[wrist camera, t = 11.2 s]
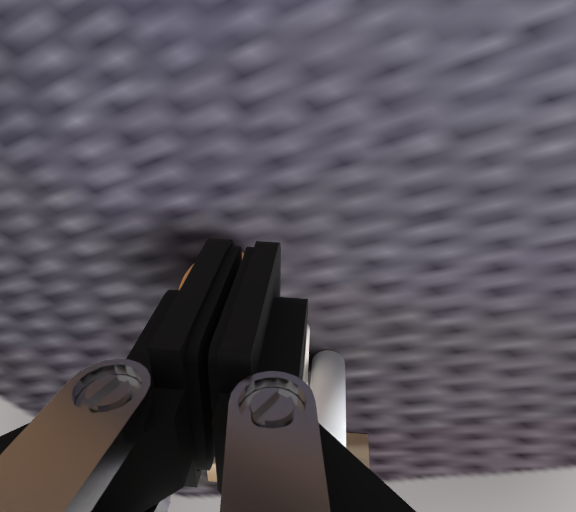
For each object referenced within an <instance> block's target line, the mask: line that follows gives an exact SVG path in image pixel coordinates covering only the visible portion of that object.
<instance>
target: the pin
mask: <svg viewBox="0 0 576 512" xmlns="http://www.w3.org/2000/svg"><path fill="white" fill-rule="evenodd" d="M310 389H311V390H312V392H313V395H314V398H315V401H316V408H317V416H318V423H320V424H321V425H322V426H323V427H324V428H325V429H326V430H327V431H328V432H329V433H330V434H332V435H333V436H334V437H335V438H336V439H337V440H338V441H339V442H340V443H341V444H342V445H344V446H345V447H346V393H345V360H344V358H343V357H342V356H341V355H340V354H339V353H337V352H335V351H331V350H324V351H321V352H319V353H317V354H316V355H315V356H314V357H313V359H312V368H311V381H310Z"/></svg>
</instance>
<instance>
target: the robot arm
mask: <svg viewBox="0 0 576 512" xmlns="http://www.w3.org/2000/svg"><path fill="white" fill-rule="evenodd" d="M280 263H281V247H280V243H276V242H259V241H256V243H255V246H254V247H247V248H246V251H245V253H244V256H243V259H242V249H241V246H234V244H233V241H232V240H225V239H208V240H207V241H206V243H205V245H204V247H203V249H202V250H201V252H200V254H199V256H198V258H197V259H196V261H195V263H194V265H193V267H192V269H191V270H190V272H189V274H188V276H187V278H186V279H185V281H184V283H183V285H182V287H181V288H180V290H168V291H167V292H166V293H165V295H164V296H163V298H162V300H161V301H160V303H159V305H158V306H157V308H156V310H155V311H154V313H153V315H152V316H151V318H150V320H149V322H148V323H147V325H146V327H145V328H144V330H143V332H142V333H141V335H140V337H139V338H138V340H137V342H136V343H135V345H134V347H133V348H132V350H131V352H130V353H129V355H128V357H127V359H111V360H105V361H101V362H98V363H95V364H92V365H90V366H88V367H87V368H85V369H83V370H81V371H80V372H78V373H77V374H76V375H75V376H74V377H73V378H71V379H70V380H69V381H68V382H67V384H66V385H65V386H64V387H63V388H62V389H61V390H60V391H59V392H58V393H57V394H56V395H55V396H54V398H53V399H52V400H51V401H50V402H49V403H48V404H47V405H46V406H45V407H44V408H43V409H42V410H41V412H40V413H39V414H38V415H37V416H36V417H35V418H34V419H33V420H32V421H31V422H30V423H28V424H26V425H24V426H22V427H20V428H18V429H16V430H13V431H11V432H9V433H7V434H4V435H2V436H0V512H167V511H168V508H169V505H170V495H171V494H173V493H175V492H176V491H178V490H179V489H181V488H182V487H184V486H189V487H197V485H198V482H199V478H200V475H201V471H202V470H208V471H209V470H210V469H211V467H212V464H213V461H214V457H215V463H216V474H217V486H218V491H219V492H220V493H221V505H220V512H416V511H415V510H414V509H412V508H411V507H410V506H409V505H408V504H407V503H406V502H405V501H404V500H403V499H402V498H400V497H399V496H398V495H397V494H396V493H395V492H394V491H393V490H392V489H391V488H390V487H388V486H387V485H386V484H385V483H384V482H383V481H382V480H381V479H380V478H379V477H377V476H376V475H375V474H374V473H373V472H372V471H371V470H370V469H369V468H368V467H367V466H365V465H364V464H363V463H362V462H361V461H360V460H359V459H358V458H357V457H356V456H355V455H353V454H352V453H351V452H350V451H349V450H348V449H347V448H346V447H345V446H344V445H342V444H341V443H340V442H339V441H338V440H337V439H336V438H335V437H334V436H333V435H332V434H330V433H329V432H328V431H327V430H326V429H325V428H324V427H323V426H322V425H321V424H320V423H318V416H317V408H316V401H315V398H314V395H313V392H312V390H311V389H310V387H309V386H308V385H307V384H306V383H305V382H304V381H303V374H304V364H305V352H306V337H307V317H308V299H299V298H285V297H280Z"/></svg>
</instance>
